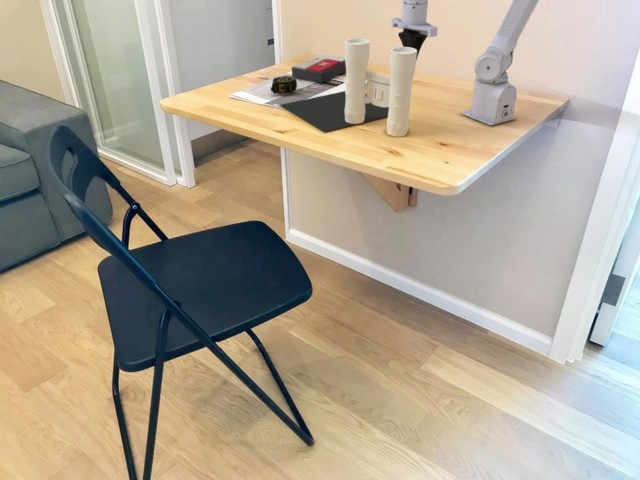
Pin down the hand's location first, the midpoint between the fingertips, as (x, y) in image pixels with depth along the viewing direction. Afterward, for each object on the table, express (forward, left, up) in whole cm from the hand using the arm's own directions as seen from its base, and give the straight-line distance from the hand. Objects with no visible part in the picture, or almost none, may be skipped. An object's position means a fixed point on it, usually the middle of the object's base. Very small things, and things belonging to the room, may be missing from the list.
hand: (411, 62), depth 129 cm
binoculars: (-8, +17, -10) cm, 21 cm away
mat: (+6, +17, -10) cm, 20 cm away
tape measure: (+27, +23, -11) cm, 36 cm away
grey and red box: (+36, +5, -11) cm, 37 cm away
